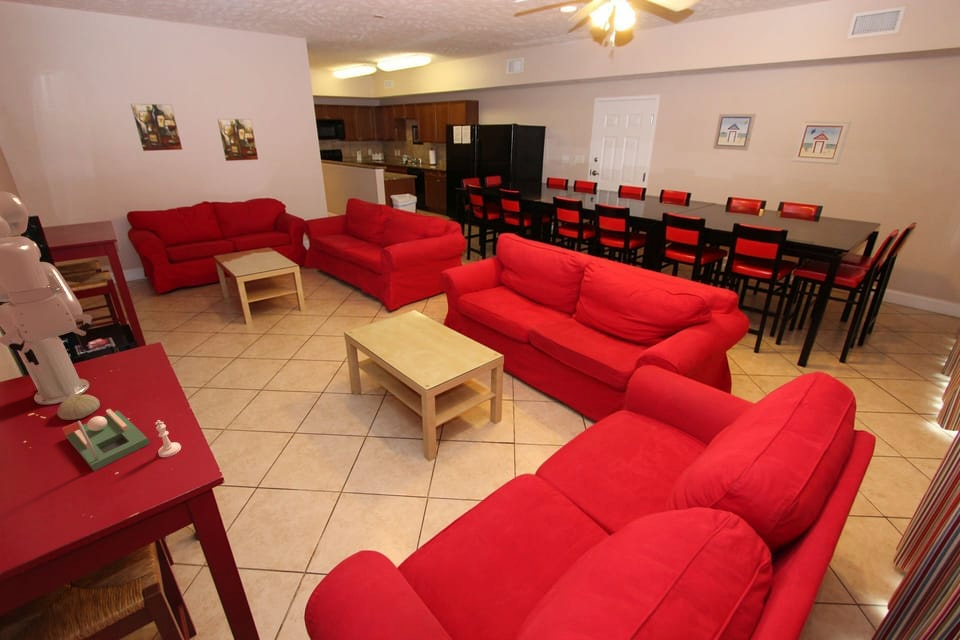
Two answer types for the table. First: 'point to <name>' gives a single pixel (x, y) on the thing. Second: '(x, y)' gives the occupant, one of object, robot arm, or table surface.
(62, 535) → the table surface
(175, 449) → the chess piece
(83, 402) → the sea urchin shell
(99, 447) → the mat
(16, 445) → the table surface
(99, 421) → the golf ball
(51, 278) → the robot arm
